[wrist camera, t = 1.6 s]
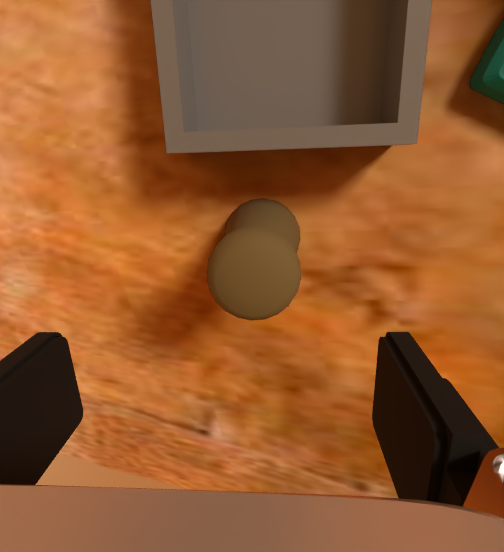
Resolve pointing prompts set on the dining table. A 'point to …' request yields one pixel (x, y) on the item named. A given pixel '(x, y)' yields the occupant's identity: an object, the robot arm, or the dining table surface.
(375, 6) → the gray square tray
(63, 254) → the dining table surface
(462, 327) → the dining table surface
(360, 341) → the dining table surface
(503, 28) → the digital multimeter
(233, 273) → the tan piece
